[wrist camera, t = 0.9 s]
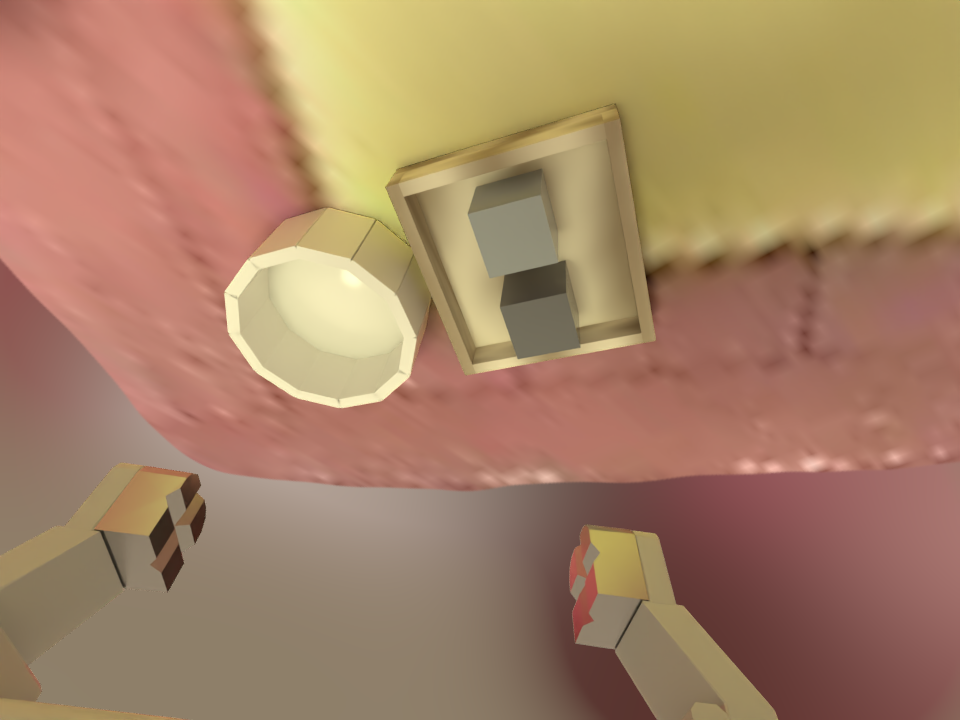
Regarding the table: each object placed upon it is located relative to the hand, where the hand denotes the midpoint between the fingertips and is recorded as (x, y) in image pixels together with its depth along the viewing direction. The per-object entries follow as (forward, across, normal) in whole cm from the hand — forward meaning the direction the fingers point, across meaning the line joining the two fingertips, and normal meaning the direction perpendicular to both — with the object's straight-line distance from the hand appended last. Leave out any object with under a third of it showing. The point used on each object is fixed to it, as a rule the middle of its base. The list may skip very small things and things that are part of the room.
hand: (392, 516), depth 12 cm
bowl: (+27, +8, +10) cm, 30 cm away
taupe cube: (+25, -3, +2) cm, 25 cm away
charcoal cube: (+25, -6, +7) cm, 27 cm away
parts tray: (+26, -4, +4) cm, 27 cm away
